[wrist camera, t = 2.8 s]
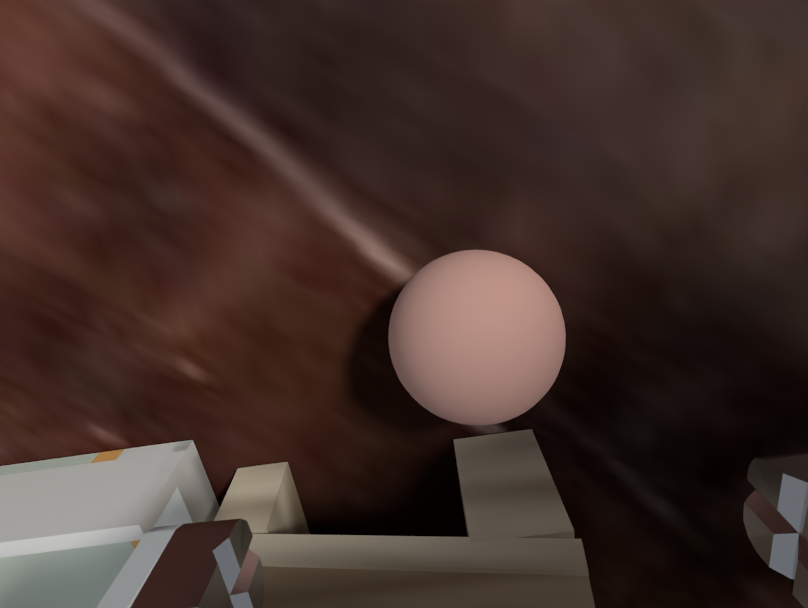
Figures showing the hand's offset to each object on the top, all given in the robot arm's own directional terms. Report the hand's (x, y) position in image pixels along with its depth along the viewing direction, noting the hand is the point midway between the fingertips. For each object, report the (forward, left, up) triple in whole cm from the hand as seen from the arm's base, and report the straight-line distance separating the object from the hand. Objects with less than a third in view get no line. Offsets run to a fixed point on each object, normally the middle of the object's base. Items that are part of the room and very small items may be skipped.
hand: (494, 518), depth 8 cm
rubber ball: (0, +1, -9) cm, 9 cm away
